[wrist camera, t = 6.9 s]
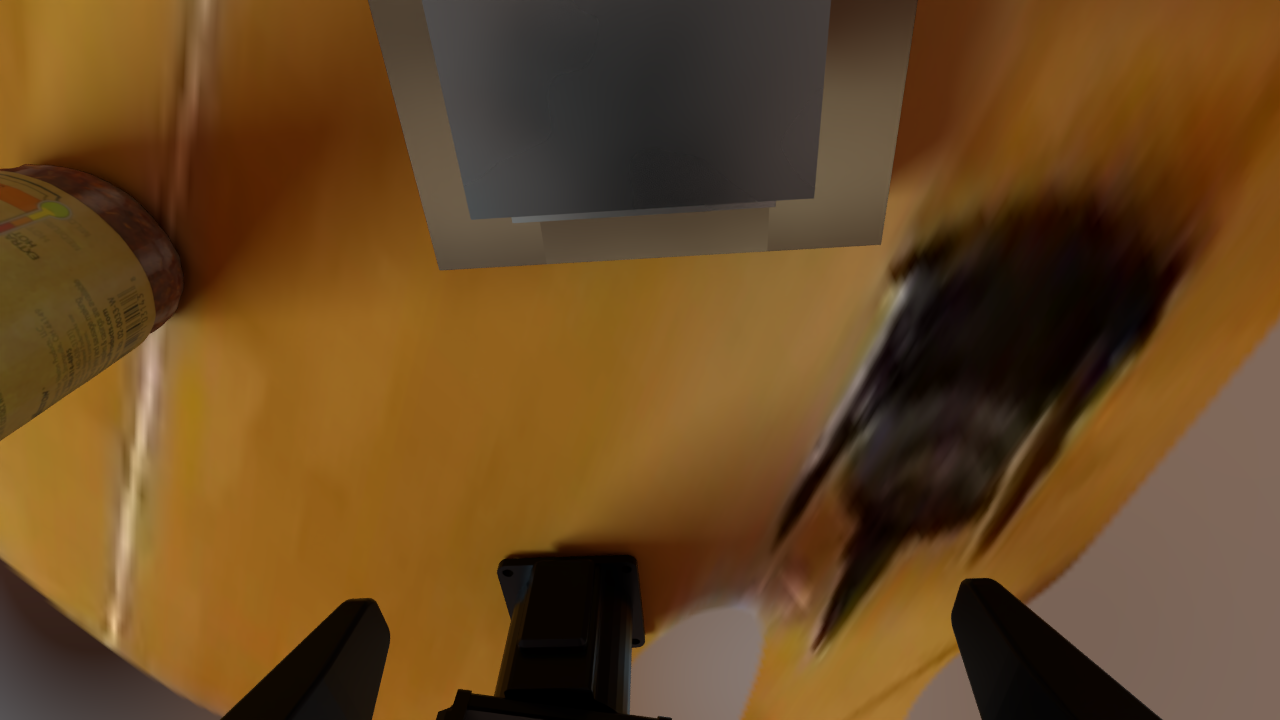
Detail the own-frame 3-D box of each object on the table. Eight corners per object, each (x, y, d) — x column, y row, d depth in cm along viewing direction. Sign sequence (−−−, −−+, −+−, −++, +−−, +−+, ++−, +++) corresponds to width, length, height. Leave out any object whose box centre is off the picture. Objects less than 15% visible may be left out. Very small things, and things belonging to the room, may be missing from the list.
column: (733, 109, 14) (812, 224, 7) (562, 121, 14) (476, 244, 7) (736, -149, 11) (861, -358, 5) (529, -129, 12) (354, -302, 5)
